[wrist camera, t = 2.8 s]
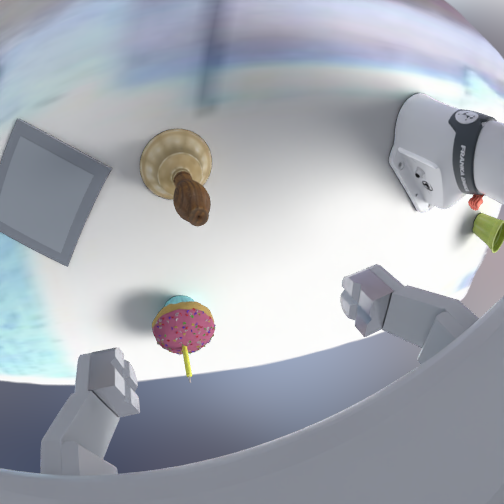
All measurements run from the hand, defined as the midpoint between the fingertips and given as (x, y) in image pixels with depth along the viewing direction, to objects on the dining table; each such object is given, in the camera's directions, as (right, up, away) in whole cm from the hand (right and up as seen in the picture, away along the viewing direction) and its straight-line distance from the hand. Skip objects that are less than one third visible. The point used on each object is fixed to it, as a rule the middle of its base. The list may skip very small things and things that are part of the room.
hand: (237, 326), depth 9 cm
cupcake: (-10, -6, +31) cm, 33 cm away
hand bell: (-8, +12, +21) cm, 26 cm away
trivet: (-24, +9, +17) cm, 31 cm away
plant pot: (+62, +11, +49) cm, 80 cm away
